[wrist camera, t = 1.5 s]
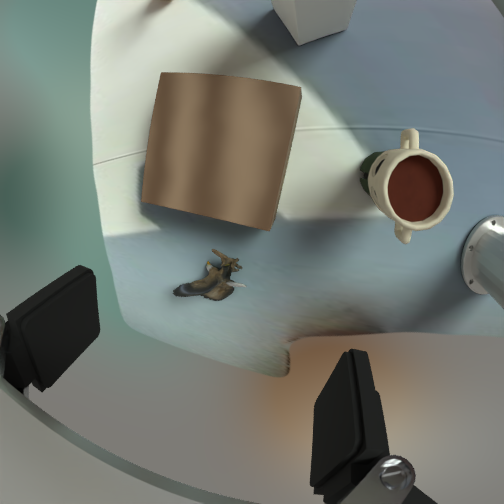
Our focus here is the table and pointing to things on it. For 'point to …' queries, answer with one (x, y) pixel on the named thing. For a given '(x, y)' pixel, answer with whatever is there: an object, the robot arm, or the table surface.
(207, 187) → the walnut block
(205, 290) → the eagle figurine
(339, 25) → the milk carton
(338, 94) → the table surface
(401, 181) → the character mug
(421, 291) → the table surface
